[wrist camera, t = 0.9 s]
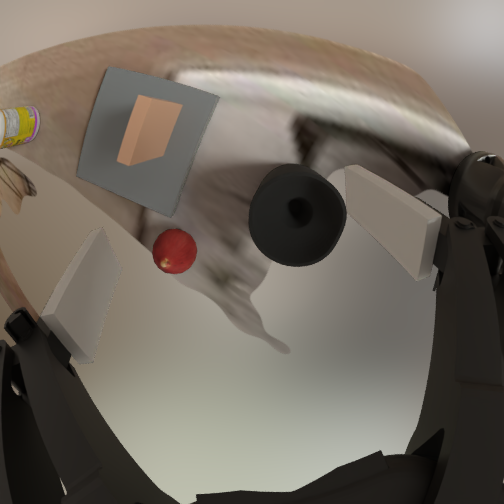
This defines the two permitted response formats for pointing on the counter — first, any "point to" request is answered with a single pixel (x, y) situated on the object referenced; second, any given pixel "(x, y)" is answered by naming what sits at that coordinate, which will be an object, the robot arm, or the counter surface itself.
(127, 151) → the tile
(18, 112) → the supplement bottle
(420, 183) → the counter surface
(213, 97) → the slate board
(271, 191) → the pen holder
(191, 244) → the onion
